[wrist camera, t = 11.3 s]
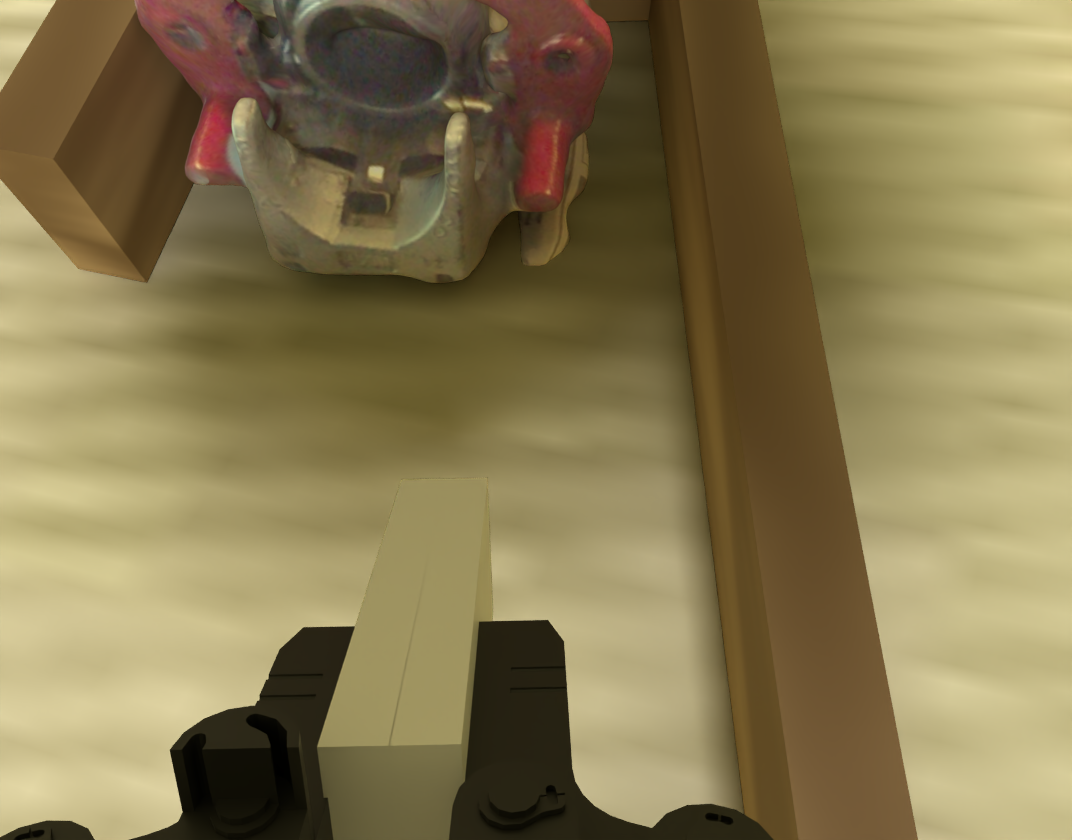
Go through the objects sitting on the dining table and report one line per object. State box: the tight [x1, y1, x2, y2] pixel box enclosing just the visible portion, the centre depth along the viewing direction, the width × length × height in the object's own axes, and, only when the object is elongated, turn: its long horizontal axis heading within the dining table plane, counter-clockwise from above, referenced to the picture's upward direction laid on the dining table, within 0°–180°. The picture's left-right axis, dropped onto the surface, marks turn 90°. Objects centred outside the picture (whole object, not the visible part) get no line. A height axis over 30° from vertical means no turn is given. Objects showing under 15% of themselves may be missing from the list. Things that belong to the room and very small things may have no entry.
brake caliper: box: [134, 0, 613, 283], centre depth 22 cm, size 11×11×12 cm
